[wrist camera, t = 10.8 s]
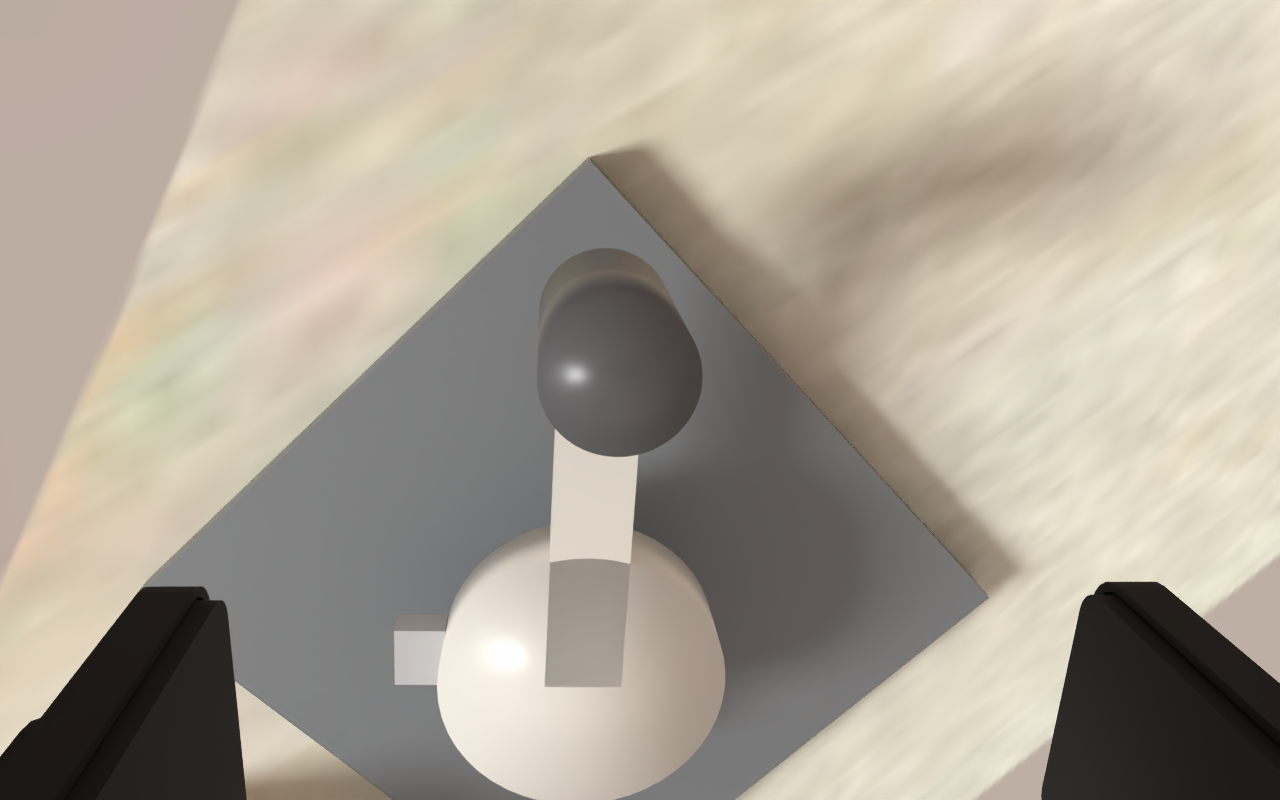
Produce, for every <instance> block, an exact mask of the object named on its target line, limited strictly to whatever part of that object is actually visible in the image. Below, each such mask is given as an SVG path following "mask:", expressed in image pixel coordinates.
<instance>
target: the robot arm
mask: <svg viewBox="0 0 1280 800" xmlns="http://www.w3.org/2000/svg"><path fill="white" fill-rule="evenodd" d="M1041 797H1042V800H1280V683H1279V682H1277V681H1276V680H1275V679H1274V678H1273V677H1271V676H1270V675H1269V674H1268V673H1267V672H1265V671H1264V670H1263V669H1262V668H1261V667H1260V666H1258V665H1257V664H1256V663H1255V662H1254V661H1252V660H1251V659H1250V658H1249V657H1248V656H1246V655H1245V654H1244V653H1243V652H1242V651H1241V650H1239V649H1238V648H1237V647H1235V645H1233V644H1232V643H1231V642H1230V641H1229V640H1228V639H1226V638H1225V637H1224V636H1223V635H1222V634H1220V633H1219V632H1218V631H1217V630H1216V629H1214V628H1213V627H1212V626H1211V625H1210V624H1209V623H1207V622H1206V621H1205V620H1204V619H1203V618H1201V617H1200V616H1199V615H1198V614H1197V613H1195V612H1194V611H1193V610H1192V609H1191V608H1190V607H1188V606H1187V605H1186V604H1185V603H1184V602H1182V601H1181V600H1180V599H1179V598H1178V597H1176V596H1175V595H1174V594H1173V593H1172V592H1171V591H1169V590H1168V589H1167V588H1166V587H1165V586H1163V585H1161V584H1159V583H1158V582H1105V583H1103V584H1101V585H1100V586H1099V587H1098V588H1097V590H1096V591H1095V593H1094V595H1089V596H1087V597H1086V598H1085V599H1084V600H1083V602H1082V605H1081V608H1080V611H1079V616H1078V621H1077V626H1076V630H1075V635H1074V640H1073V645H1072V649H1071V654H1070V659H1069V663H1068V668H1067V673H1066V678H1065V682H1064V687H1063V692H1062V696H1061V701H1060V706H1059V711H1058V715H1057V720H1056V725H1055V729H1054V734H1053V739H1052V744H1051V748H1050V753H1049V758H1048V763H1047V768H1046V772H1045V777H1044V781H1043V786H1042V795H1041ZM0 800H247V799H246V789H245V779H244V769H243V759H242V749H241V739H240V729H239V719H238V709H237V699H236V689H235V679H234V669H233V659H232V649H231V639H230V629H229V619H228V612H227V607H226V605H225V602H224V601H222V600H210V598H209V595H208V593H207V590H206V589H205V588H204V587H203V586H156V587H143V588H142V589H141V590H140V591H139V592H138V593H137V594H136V596H135V597H134V598H133V600H132V601H131V602H130V603H129V605H128V606H127V607H126V609H125V610H124V611H123V612H122V614H121V615H120V616H119V618H118V619H117V620H116V621H115V623H114V624H113V625H112V627H111V628H110V629H109V630H108V632H107V633H106V634H105V636H104V637H103V638H102V639H101V641H100V642H99V643H98V645H97V646H96V647H95V649H94V650H93V651H92V652H91V654H90V655H89V656H88V658H87V659H86V660H85V661H84V663H83V664H82V665H81V667H80V668H79V669H78V670H77V672H76V673H75V674H74V676H73V677H72V678H71V679H70V681H69V682H68V683H67V685H66V686H65V687H64V688H63V690H62V691H61V692H60V694H59V695H58V696H57V698H56V699H55V700H54V701H53V703H52V704H51V705H50V707H49V708H48V709H47V710H46V712H45V713H44V714H43V716H42V717H41V718H39V719H36V720H33V721H31V722H30V723H29V724H28V725H27V726H26V727H25V728H23V729H22V730H21V731H20V732H19V734H18V735H17V736H16V737H15V739H14V740H13V741H12V743H11V744H10V745H9V746H8V748H7V749H6V750H5V751H4V753H3V754H2V755H1V756H0Z"/></svg>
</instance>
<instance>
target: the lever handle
mask: <svg viewBox="0 0 1280 800" xmlns="http://www.w3.org/2000/svg"><path fill="white" fill-rule="evenodd" d="M702 381H703V371H702V362H701V359H700V355H699V351H698V349H697V347H696V344H695V342H694V340H693V338H692V336H691V334H690V332H689V331H688V329H687V327H686V325H685V323H684V321H683V319H682V317H681V315H680V313H679V312H678V310H677V308H676V306H675V304H674V302H673V300H672V298H671V296H670V294H669V293H668V291H667V289H666V287H665V285H664V283H663V281H662V280H661V278H660V276H659V275H658V274H657V272H656V271H655V270H654V269H653V268H652V267H651V266H650V265H649V264H648V263H647V262H645V261H644V260H643V259H641V258H639V257H638V256H636V255H634V254H632V253H629V252H627V251H623V250H619V249H612V248H598V249H591V250H588V251H584V252H581V253H579V254H577V255H575V256H573V257H571V258H569V259H568V260H566V261H565V262H564V263H563V264H561V265H560V266H559V267H558V268H557V269H556V270H555V271H554V273H553V274H552V275H551V277H550V278H549V280H548V281H547V283H546V285H545V287H544V290H543V292H542V296H541V300H540V306H539V328H538V358H537V389H538V395H539V399H540V402H541V405H542V408H543V410H544V412H545V414H546V417H547V418H548V420H549V421H550V423H551V424H552V426H553V427H554V428H555V436H554V458H553V481H552V504H551V525H549V526H546V527H542V528H538V529H535V530H532V531H530V532H527V533H525V534H522V535H520V536H517V537H515V538H514V539H512V540H510V541H508V542H507V543H505V544H503V545H501V546H500V547H499V548H497V549H496V550H495V551H493V552H492V553H491V554H489V555H488V556H487V557H486V558H485V559H483V560H482V561H481V562H480V563H479V564H478V565H477V566H476V567H475V568H474V569H473V571H472V572H471V573H470V575H469V576H468V577H467V578H466V580H465V581H464V582H463V584H462V586H461V588H460V589H459V591H458V593H457V595H456V597H455V599H454V601H453V604H452V606H451V609H450V612H449V616H448V615H416V614H398V618H397V622H396V626H395V629H394V667H395V685H437V693H438V704H439V708H440V712H441V717H442V720H443V722H444V725H445V727H446V730H447V732H448V734H449V736H450V738H451V739H452V741H453V743H454V744H455V746H456V748H457V749H458V750H459V751H460V753H461V754H462V755H463V756H464V758H465V759H466V760H467V761H468V762H469V763H470V764H471V765H472V766H473V767H474V768H475V769H476V770H478V771H479V772H480V773H481V774H483V775H484V776H486V777H487V778H488V779H490V780H491V781H492V782H494V783H496V784H498V785H500V786H502V787H503V788H505V789H507V790H509V791H512V792H514V793H517V794H519V795H522V796H525V797H529V798H532V799H536V800H615V799H618V798H622V797H626V796H629V795H632V794H634V793H637V792H639V791H642V790H644V789H647V788H648V787H650V786H652V785H654V784H656V783H658V782H660V781H662V780H663V779H664V778H666V777H667V776H669V775H670V774H672V773H673V772H675V771H676V770H677V769H678V768H679V767H681V766H682V765H683V764H684V763H685V762H686V761H687V760H689V758H690V757H691V756H692V755H693V754H694V753H695V752H696V751H697V750H698V748H699V747H700V746H701V745H702V743H703V742H704V740H705V739H706V737H707V736H708V734H709V733H710V731H711V729H712V727H713V725H714V723H715V721H716V719H717V716H718V713H719V710H720V707H721V705H722V700H723V695H724V689H725V664H724V656H723V652H722V649H721V645H720V641H719V638H718V635H717V631H716V628H715V625H714V621H713V618H712V615H711V611H710V608H709V604H708V601H707V598H706V596H705V594H704V592H703V589H702V587H701V585H700V583H699V582H698V580H697V579H696V577H695V576H694V574H693V572H692V571H691V570H690V569H689V568H688V567H687V565H686V564H685V563H684V562H683V561H682V560H681V559H680V558H679V557H678V556H677V555H676V554H674V553H673V552H672V551H671V550H670V549H668V548H667V547H665V546H664V545H662V544H661V543H659V542H658V541H656V540H655V539H653V538H651V537H649V536H646V535H644V534H642V533H640V532H638V531H635V530H633V521H634V507H635V494H636V480H637V466H638V455H639V454H642V453H646V452H649V451H651V450H653V449H656V448H658V447H659V446H661V445H663V444H665V443H666V442H668V441H669V440H670V439H672V438H673V437H674V436H675V435H676V434H677V433H678V432H679V431H681V430H682V428H683V427H684V426H685V425H686V423H687V422H688V421H689V419H690V418H691V416H692V414H693V413H694V411H695V408H696V406H697V404H698V401H699V398H700V394H701V389H702Z"/></svg>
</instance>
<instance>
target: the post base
mask: <svg viewBox="0 0 1280 800" xmlns="http://www.w3.org/2000/svg"><path fill="white" fill-rule="evenodd" d="M598 248H612V249H619V250H623V251H627V252H629V253H632V254H634V255H636V256H638V257H639V258H641V259H643V260H644V261H645V262H647V263H648V264H649V265H650V266H651V267H652V268H653V269H654V270H655V271H656V272H657V274H658V275H659V276H660V278H661V280H662V281H663V283H664V285H665V287H666V289H667V291H668V293H669V294H670V296H671V298H672V300H673V302H674V304H675V306H676V308H677V310H678V312H679V313H680V315H681V317H682V319H683V321H684V323H685V325H686V327H687V329H688V331H689V332H690V334H691V336H692V338H693V340H694V342H695V344H696V347H697V349H698V351H699V355H700V359H701V362H702V371H703V381H702V389H701V394H700V398H699V401H698V404H697V406H696V408H695V411H694V413H693V414H692V416H691V418H690V419H689V421H688V422H687V423H686V425H685V426H684V427H683V428H682V430H681V431H679V432H678V433H677V434H676V435H675V436H674V437H673V438H672V439H670V440H669V441H668V442H666V443H665V444H663V445H661V446H659V447H658V448H656V449H653V450H651V451H649V452H646V453H642V454H639V455H638V466H637V480H636V494H635V507H634V521H633V530H635V531H638V532H640V533H642V534H644V535H646V536H649V537H651V538H653V539H655V540H656V541H658V542H659V543H661V544H662V545H664V546H665V547H667V548H668V549H670V550H671V551H672V552H673V553H674V554H676V555H677V556H678V557H679V558H680V559H681V560H682V561H683V562H684V563H685V564H686V565H687V567H688V568H689V569H690V570H691V571H692V572H693V574H694V576H695V577H696V579H697V580H698V582H699V583H700V585H701V587H702V589H703V592H704V594H705V596H706V598H707V601H708V604H709V608H710V611H711V615H712V618H713V621H714V625H715V628H716V631H717V635H718V638H719V641H720V645H721V649H722V652H723V656H724V664H725V689H724V695H723V700H722V705H721V707H720V710H719V713H718V716H717V719H716V721H715V723H714V725H713V727H712V729H711V731H710V733H709V734H708V736H707V737H706V739H705V740H704V742H703V743H702V745H701V746H700V747H699V748H698V750H697V751H696V752H695V753H694V754H693V755H692V756H691V757H690V758H689V760H687V761H686V762H685V763H684V764H683V765H682V766H681V767H679V768H678V769H677V770H676V771H675V772H673V773H672V774H670V775H669V776H667V777H666V778H664V779H663V780H662V781H660V782H658V783H656V784H654V785H652V786H650V787H648V788H647V789H644V790H642V791H639V792H637V793H634V794H632V795H629V796H626V797H622V798H618V799H615V800H734V799H736V798H737V797H738V796H740V795H741V794H742V793H743V792H745V791H746V790H747V789H748V788H750V787H751V786H752V785H753V784H755V783H756V782H757V781H758V780H760V779H761V778H762V777H763V776H765V775H766V774H767V773H768V772H770V771H771V770H772V769H774V768H775V767H776V766H777V765H779V764H780V763H781V762H782V761H784V760H785V759H786V758H787V757H789V756H790V755H791V754H792V753H794V752H795V751H796V750H797V749H799V748H800V747H801V746H803V745H804V744H805V743H806V742H808V741H809V740H810V739H811V738H813V737H814V736H815V735H816V734H818V733H819V732H820V731H821V730H823V729H824V728H825V727H826V726H828V725H829V724H830V723H832V722H833V721H834V720H835V719H837V718H838V717H839V716H840V715H842V714H843V713H844V712H845V711H847V710H848V709H849V708H850V707H852V706H853V705H854V704H855V703H857V702H858V701H859V700H860V699H862V698H863V697H864V696H866V695H867V694H868V693H869V692H871V691H872V690H873V689H874V688H876V687H877V686H878V685H879V684H881V683H882V682H883V681H884V680H886V679H887V678H888V677H889V676H891V675H892V674H893V673H895V672H896V671H897V670H898V669H900V668H901V667H902V666H903V665H905V664H906V663H907V662H908V661H910V660H911V659H912V658H913V657H915V656H916V655H917V654H918V653H920V652H921V651H922V650H924V649H925V648H926V647H927V646H929V645H930V644H931V643H932V642H934V641H935V640H936V639H937V638H939V637H940V636H941V635H942V634H944V633H945V632H946V631H947V630H949V629H950V628H951V627H953V626H954V625H955V624H956V623H958V622H959V621H960V620H961V619H963V618H964V617H965V616H966V615H968V614H969V613H970V612H971V611H973V610H974V609H975V608H976V607H978V606H979V605H980V604H981V603H983V602H984V601H985V600H987V599H988V598H989V597H988V596H987V594H986V593H985V592H984V591H983V589H982V588H981V587H980V586H979V585H978V583H977V582H976V581H975V580H974V579H973V577H972V576H971V575H970V574H969V573H968V572H967V571H966V570H965V569H964V568H963V566H962V565H961V564H960V563H959V562H958V561H957V560H956V559H955V558H954V557H953V556H952V554H951V553H950V552H949V551H948V550H947V549H946V548H945V547H944V546H943V545H942V543H941V542H940V541H939V540H938V539H937V538H936V537H935V536H934V535H933V534H932V533H931V531H930V530H929V529H928V528H927V527H926V526H925V525H924V524H923V523H922V522H921V521H920V519H919V518H918V517H917V516H916V515H915V514H914V513H913V512H912V511H911V510H910V508H909V507H908V506H907V505H906V504H905V503H904V502H903V501H902V500H901V499H900V498H899V496H898V495H897V494H896V493H895V492H894V491H893V490H892V489H891V488H890V487H889V485H888V484H887V483H886V482H885V481H884V480H883V479H882V478H881V477H880V476H879V475H878V473H877V472H876V471H875V470H874V469H873V468H872V467H871V466H870V465H869V464H868V463H867V461H866V460H865V459H864V458H863V457H862V456H861V455H860V454H859V453H858V452H857V450H856V449H855V448H854V447H853V446H852V445H851V444H850V443H849V442H848V441H847V440H846V438H845V437H844V436H843V435H842V434H841V433H840V432H839V431H838V430H837V429H836V427H835V426H834V425H833V424H832V423H831V422H830V421H829V420H828V419H827V418H826V417H825V415H824V414H823V413H822V412H821V411H820V410H819V409H818V408H817V407H816V406H815V404H814V403H813V402H812V401H811V400H810V399H809V398H808V397H807V396H806V395H805V394H804V392H803V391H802V390H801V389H800V388H799V387H798V386H797V385H796V384H795V383H794V382H793V380H792V379H791V378H790V377H789V376H788V375H787V374H786V373H785V372H784V371H783V369H782V368H781V367H780V366H779V365H778V364H777V363H776V362H775V361H774V360H773V359H772V357H771V356H770V355H769V354H768V353H767V352H766V351H765V350H764V349H763V348H762V346H761V345H760V344H759V343H758V342H757V341H756V340H755V339H754V338H753V337H752V336H751V334H750V333H749V332H748V331H747V330H746V329H745V328H744V327H743V326H742V325H741V323H740V322H739V321H738V320H737V319H736V318H735V317H734V316H733V315H732V314H731V313H730V311H729V310H728V309H727V308H726V307H725V306H724V305H723V304H722V303H721V302H720V301H719V299H718V298H717V297H716V296H715V295H714V294H713V293H712V292H711V291H710V290H709V288H708V287H707V286H706V285H705V284H704V283H703V282H702V281H701V280H700V279H699V278H698V276H697V275H696V274H695V273H694V272H693V271H692V270H691V269H690V268H689V267H688V265H687V264H686V263H685V262H684V261H683V260H682V259H681V258H680V257H679V256H678V255H677V253H676V252H675V251H674V250H673V249H672V248H671V247H670V246H669V245H668V244H667V242H666V241H665V240H664V239H663V238H662V237H661V236H660V235H659V234H658V233H657V232H656V230H655V229H654V228H653V227H652V226H651V225H650V224H649V223H648V222H647V221H646V220H645V218H644V217H643V216H642V215H641V214H640V213H639V212H638V211H637V210H636V209H635V207H634V206H633V205H632V204H631V203H630V202H629V201H628V200H627V199H626V198H625V197H624V195H623V194H622V193H621V192H620V191H619V190H618V189H617V188H616V187H615V186H614V184H613V183H612V182H611V181H610V180H609V179H608V178H607V177H606V176H605V175H604V174H603V172H602V171H601V170H600V169H599V168H598V167H597V166H596V165H595V164H594V163H593V161H592V160H591V159H590V158H589V157H588V158H587V159H586V160H585V161H584V162H583V163H582V164H581V165H580V166H579V167H578V168H577V169H576V170H575V171H574V172H573V173H572V174H571V175H570V176H569V177H568V178H567V179H566V180H564V181H563V182H562V183H561V184H560V185H559V186H558V187H557V188H556V189H555V190H554V191H553V192H552V193H551V194H550V195H549V196H548V197H547V198H546V199H545V200H544V201H543V202H542V203H540V204H539V205H538V206H537V207H536V208H535V209H534V210H533V211H532V212H531V213H530V214H529V215H528V216H527V217H526V218H525V219H524V220H523V221H522V222H521V223H520V224H519V225H518V226H517V227H515V228H514V229H513V230H512V231H511V232H510V233H509V234H508V235H507V236H506V237H505V238H504V239H503V240H502V241H501V242H500V243H499V244H498V245H497V246H496V247H495V248H494V249H493V250H491V251H490V252H489V253H488V254H487V255H486V256H485V257H484V258H483V259H482V260H481V261H480V262H479V263H478V264H477V265H476V266H475V267H474V268H473V269H472V270H471V271H470V272H469V273H468V274H466V275H465V276H464V277H463V278H462V279H461V280H460V281H459V282H458V283H457V284H456V285H455V286H454V287H453V288H452V289H451V290H450V291H449V292H448V293H447V294H446V295H445V296H444V297H442V298H441V299H440V300H439V301H438V302H437V303H436V304H435V305H434V306H433V307H432V308H431V309H430V310H429V311H428V312H427V313H426V314H425V315H424V316H423V317H422V318H421V319H420V320H419V321H417V322H416V323H415V324H414V325H413V326H412V327H411V328H410V329H409V330H408V331H407V332H406V333H405V334H404V335H403V336H402V337H401V338H400V339H399V340H398V341H397V342H396V343H395V344H394V345H392V346H391V347H390V348H389V349H388V350H387V351H386V352H385V353H384V354H383V355H382V356H381V357H380V358H379V359H378V360H377V361H376V362H375V363H374V364H373V365H372V366H371V367H370V368H368V369H367V370H366V371H365V372H364V373H363V374H362V375H361V376H360V377H359V378H358V379H357V380H356V381H355V382H354V383H353V384H352V385H351V386H350V387H349V388H348V389H347V390H346V391H345V392H343V393H342V394H341V395H340V396H339V397H338V398H337V399H336V400H335V401H334V402H333V403H332V404H331V405H330V406H329V407H328V408H327V409H326V410H325V411H324V412H323V413H322V414H321V415H319V416H318V417H317V418H316V419H315V420H314V421H313V422H312V423H311V424H310V425H309V426H308V427H307V428H306V429H305V430H304V431H303V432H302V433H301V434H300V435H299V436H298V437H297V438H296V439H294V440H293V441H292V442H291V443H290V444H289V445H288V446H287V447H286V448H285V449H284V450H283V451H282V452H281V453H280V454H279V455H278V456H277V457H276V458H275V459H274V460H273V461H272V462H270V463H269V464H268V465H267V466H266V467H265V468H264V469H263V470H262V471H261V472H260V473H259V474H258V475H257V476H256V477H255V478H254V479H253V480H252V481H251V482H250V483H249V484H248V485H247V486H245V487H244V488H243V489H242V490H241V491H240V492H239V493H238V494H237V495H236V496H235V497H234V498H233V499H232V500H231V501H230V502H229V503H228V504H227V505H226V506H225V507H224V508H223V509H222V510H220V511H219V512H218V513H217V514H216V515H215V516H214V517H213V518H212V519H211V520H210V521H209V522H208V523H207V524H206V525H205V526H204V527H203V528H202V529H201V530H200V531H199V532H198V533H196V534H195V535H194V536H193V537H192V538H191V539H190V540H189V541H188V542H187V543H186V544H185V545H184V546H183V547H182V548H181V549H180V550H179V551H178V552H177V553H176V554H175V555H174V556H173V557H171V558H170V559H169V560H168V561H167V562H166V563H165V564H164V565H163V566H162V567H161V568H160V569H159V570H158V571H157V572H156V573H155V574H154V575H153V576H152V577H151V578H150V579H149V580H147V582H146V583H145V584H144V585H143V587H156V586H203V587H204V588H205V589H206V590H207V593H208V595H209V598H210V600H222V601H224V602H225V605H226V607H227V612H228V619H229V629H230V639H231V649H232V659H233V669H234V679H235V681H236V682H237V683H238V684H240V685H241V686H242V687H244V688H245V689H246V690H248V691H249V692H250V693H252V694H253V695H254V696H256V697H257V698H258V699H260V700H261V701H262V702H264V703H265V704H266V705H268V706H269V707H270V708H272V709H273V710H274V711H276V712H277V713H278V714H280V715H281V716H282V717H284V718H285V719H286V720H288V721H289V722H290V723H292V724H293V725H294V726H296V727H297V728H298V729H300V730H301V731H302V732H304V733H305V734H306V735H308V736H309V737H310V738H312V739H313V740H314V741H316V742H317V743H318V744H320V745H321V746H322V747H324V748H325V749H326V750H328V751H329V752H330V753H332V754H333V755H334V756H336V757H337V758H338V759H340V760H341V761H342V762H344V763H345V764H346V765H348V766H349V767H351V768H352V769H353V770H355V771H356V772H357V773H359V774H360V775H361V776H363V777H364V778H365V779H367V780H368V781H369V782H371V783H372V784H373V785H375V786H376V787H377V788H379V789H380V790H381V791H383V792H384V793H385V794H387V795H388V796H389V797H391V798H392V799H393V800H536V799H532V798H529V797H525V796H522V795H519V794H517V793H514V792H512V791H509V790H507V789H505V788H503V787H502V786H500V785H498V784H496V783H494V782H492V781H491V780H490V779H488V778H487V777H486V776H484V775H483V774H481V773H480V772H479V771H478V770H476V769H475V768H474V767H473V766H472V765H471V764H470V763H469V762H468V761H467V760H466V759H465V758H464V756H463V755H462V754H461V753H460V751H459V750H458V749H457V748H456V746H455V744H454V743H453V741H452V739H451V738H450V736H449V734H448V732H447V730H446V727H445V725H444V722H443V720H442V717H441V712H440V708H439V704H438V693H437V685H395V667H394V629H395V626H396V622H397V618H398V614H416V615H448V616H449V612H450V609H451V606H452V604H453V601H454V599H455V597H456V595H457V593H458V591H459V589H460V588H461V586H462V584H463V582H464V581H465V580H466V578H467V577H468V576H469V575H470V573H471V572H472V571H473V569H474V568H475V567H476V566H477V565H478V564H479V563H480V562H481V561H482V560H483V559H485V558H486V557H487V556H488V555H489V554H491V553H492V552H493V551H495V550H496V549H497V548H499V547H500V546H501V545H503V544H505V543H507V542H508V541H510V540H512V539H514V538H515V537H517V536H520V535H522V534H525V533H527V532H530V531H532V530H535V529H538V528H542V527H546V526H549V525H551V504H552V481H553V458H554V436H555V428H554V427H553V426H552V424H551V423H550V421H549V420H548V418H547V417H546V414H545V412H544V410H543V408H542V405H541V402H540V399H539V395H538V389H537V358H538V328H539V306H540V300H541V296H542V292H543V290H544V287H545V285H546V283H547V281H548V280H549V278H550V277H551V275H552V274H553V273H554V271H555V270H556V269H557V268H558V267H559V266H560V265H561V264H563V263H564V262H565V261H566V260H568V259H569V258H571V257H573V256H575V255H577V254H579V253H581V252H584V251H588V250H591V249H598ZM143 587H142V588H143ZM142 588H141V589H142ZM141 589H140V590H141Z"/></svg>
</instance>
